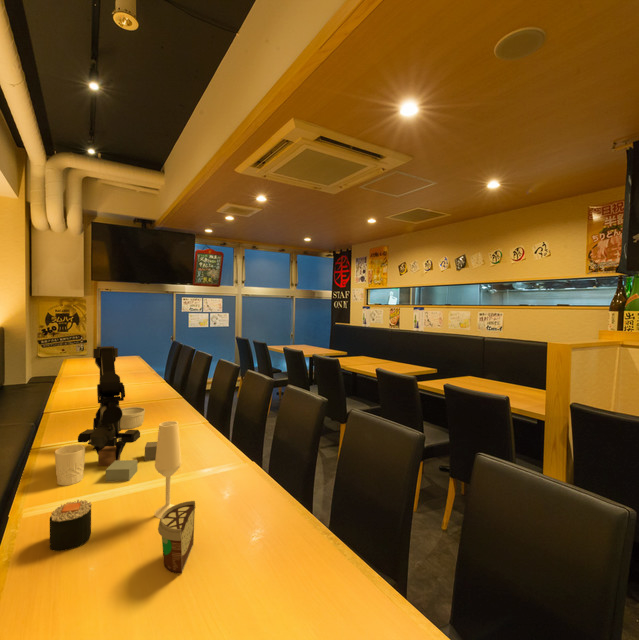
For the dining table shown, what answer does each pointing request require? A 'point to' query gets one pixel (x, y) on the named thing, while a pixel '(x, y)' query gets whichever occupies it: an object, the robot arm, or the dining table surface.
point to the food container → (177, 535)
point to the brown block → (150, 451)
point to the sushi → (70, 525)
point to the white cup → (69, 464)
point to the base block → (121, 470)
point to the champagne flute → (167, 457)
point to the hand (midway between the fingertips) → (109, 460)
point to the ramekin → (132, 417)
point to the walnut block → (107, 456)
